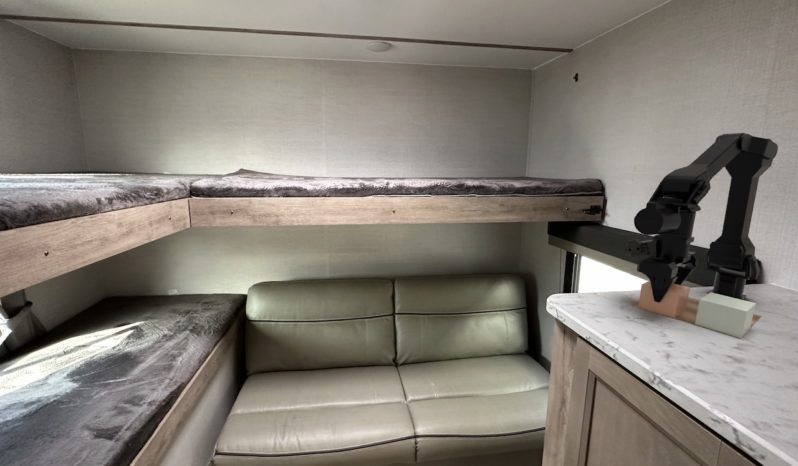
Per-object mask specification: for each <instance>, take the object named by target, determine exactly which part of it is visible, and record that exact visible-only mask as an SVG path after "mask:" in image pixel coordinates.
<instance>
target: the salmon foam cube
mask: <svg viewBox="0 0 798 466" xmlns="http://www.w3.org/2000/svg"><path fill="white" fill-rule="evenodd" d="M690 292H691V287H689V286H685V285H683V284H682V285H678V284H673V285H672V286H671V288H670V289H669V291H668V292H667V294H666V295H665V297H664V298H663V299H662V301H661V302H660V303H658V302H655V301H654V298H653V292H652V287H651V283H650V280H648V281H646V282H644V283H642V284H641V287H640V293H639V298H638V299H639V300H638V303H639V304H638V307H640V308H644V309H647V310H650V311H654V312H657V313H660V314H663V315H667V316H670V317H673V318H675V317H677V316H678V315H680V314H681V313H683V312H684V311H686V308H687V303H688V297H690ZM640 308H639V309H640ZM644 309H643V310H644ZM647 310H646V311H647ZM650 311H649V312H650ZM657 313H656V314H657ZM660 314H659V315H660ZM663 315H662V316H663ZM670 317H669V318H670ZM673 318H672V319H673Z"/></svg>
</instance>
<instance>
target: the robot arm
mask: <svg viewBox="0 0 798 466" xmlns="http://www.w3.org/2000/svg"><path fill="white" fill-rule="evenodd" d="M778 148H779V146H778V143H776V142H775V141H773V140H772V139H771V138H764V137H759V136H755V135H754V136H753V135H752V134H750V133H745V132H736V133H723V134H720V135H718V136H717V137H716V138H715V140H714V143H712V144H711V145H710V146H709V147H708V148H707V149H705V150H704V151H703V152H702V153H701V154H700V155H699V156H697V158H695V159H694V160H693V161H692V162H691V163H690V164H688V165H687V166H683V167H679V168H676V169H674V170H673V171H671V172H670V173H668V174H666V175H665V176H664V177H663V178H662V179H661V181H660V182H659V184H658V185H657V187H656V188H655V191H654V192H653V193H652V195H651V196H650V199H649V200H648V201H647V203H646V205H645V206H646V207H645V208H642V209H640V210H639V211H638V212H637V213H636V214H635V216H634V217H633V225H634V228H635V229H636V230H637V231H638V232H639V234H642V235H645V236H653V237H652V239H649V240H642V241H641V240H640V239H638V238H637V239H631V240H628V241H627V244H625V249H624V251H625V252H626V253H628V256H629V258H635V257H639V256H648V257H647V258H643V259H641V260H640V261H639V262H637V266H636V267H637V268H636V272H638V273H641V274H643V275H645V276H646V278H648V279H649V281H650V283H651V287H652V292H653V298H654V301H655V302H658V303H660V302H661V301H662V299H663V298H664V297H665V295H666V294H667V292H668V291H669V289H670V288H671V286H672V285H673V284H678V285H682V286H683V283H684V282H685V281H686V280H688V278H689V276H690V275H691V274H692V273H693V271H695V270H696V267H697V266H700V265H701V260H702V259H701V258H702V256H701V255H699V253H698V252H696V251H690V248H691V243H694V242H695V237H694V236H693V231H694V224H695V219H696V214H697V212H700V211H701V210H702V207H701V206H700V205H699V204H700V202H701V201H702V200H703V199H704V198H705V197H706V196H707V194H708V193H709V191H710V190H711V189H712V188H711V183H710V181H711V180H712V179H713V178H714V177H715V176H717V174H719V172H720V171H722V169H724V168H725V170H726V171H727V173H728V175H729V176H730V184H729V191H728V196H727V201H726V206H725V213H724V218H723V224H722V230H721V235H720V236H718V237H717V239H715V240H714V241H711V242H710V243H709V248H708V249H709V250H708V251H707V255H706V270H707V271H710V272H711V271H712V272H716V273H715V277H714V282H713V287H712V289H711V290H709V291H707V292H706V293H707V294H709V293H710V292H711V293H715V294H719V295H724V296H728V297H732V298H736V299H740V300H744V301H745V299H746V298H747V295H746V294H744V290H745V286H746V282H747V281H748V280H754V281H755V280H757V279H758V276H760V272H761V268H760V266H759V262H758V260H757V257H756V256H755V255H756V246H755V245H754V243H753V241H752V239H750V237H749V234H750V228H751V223H752V217H753V213H754V209H755V208H754V207H755V200H756V196H757V191H758V185H759V180H760V177H761V176H762V175H763V174H765V172H766V171H767V170H768V169H769V168H771V166H772V164H773V161H774V159H775V158H776V156H777V154H778V151H779V149H778ZM689 264H691V265H692V266H690V265H689ZM707 294H706V295H707Z"/></svg>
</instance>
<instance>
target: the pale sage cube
mask: <svg viewBox="0 0 798 466" xmlns="http://www.w3.org/2000/svg"><path fill="white" fill-rule="evenodd" d="M699 300H700V301H699V306H698V311H697V316H696V321H695V324H696V325H699V326H703V327H706V328H709V329H712V330H716V331H719V332H722V333H726V334H729V335H732V336H735V337H739V338H741V339H742V338H743V337H744V336H745V335H746V334H747V332H749V330H751V328H752V327H751V322H752V318H753V314H755V309H756V304H757V303H756V302H752V301H748V300H745V299H744V300H740V299H736V298H732V297H728V296H724V295H719V294H715V293H711V292H710V293H709V294H706V295H704V296H703V297H701V298H700V299H699ZM696 325H695V326H696ZM699 326H698V327H699ZM750 327H751V328H750ZM706 328H705V329H706ZM709 329H708V330H709ZM712 330H711V331H712ZM719 332H718V333H719ZM722 333H721V334H722ZM745 333H746V334H745ZM744 334H745V335H744ZM743 335H744V336H743ZM732 336H731V337H732ZM742 336H743V337H742ZM735 337H734V338H735Z"/></svg>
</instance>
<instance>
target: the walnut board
mask: <svg viewBox="0 0 798 466" xmlns="http://www.w3.org/2000/svg"><path fill="white" fill-rule="evenodd" d="M699 301H700V299H696V298H694V297H690V296H689V297H688V303H687V308H686V311H684V312H683V313H681V314H680V315H678V316H677V317H675V318H673V317H670V316H667V315H663V314H660V313H657V312H654V311H650V310H647V309H644V308H640V307H638V304H639V302H637V303H635V304H633V305H632V307H635V308H638V309H641V310H644V311H648V312H651V313H653V314H657V315H660V316H664V317H667V318H670V319H674V320H676V321H679V322H682V323H686V324H690V325H693V326H697V327H700V328H703V329H705V330H710V331H713V332H716V333H719V334H722V335H725V336H729V337H732V338H734V339H739V340H741V339H742V338H743V337H744V336H745V335H746V334H747V332H746V333H745V334H744V335H743V336H742V338H739V337H735V336H732V335H729V334H726V333H722V332H719V331H716V330H712V329H709V328H706V327H703V326H699V325H696V324H695V321H696V316H697V311H698V306H699ZM762 317H763V316H762V315H760V314H756V313H754V314H753V318H752V322H751V327H750V329H751V328H752V327H754V326H755V324H756V323H757V322H758V321H759V320H760V319H761V318H762Z"/></svg>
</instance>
